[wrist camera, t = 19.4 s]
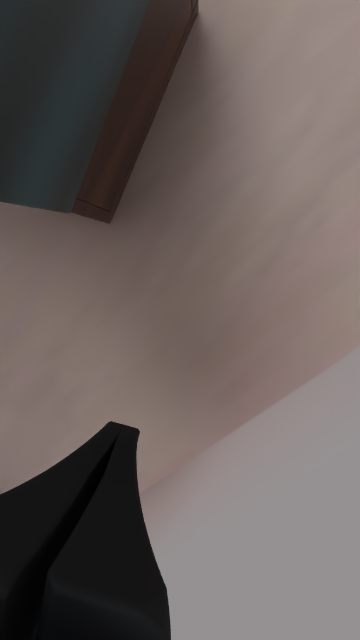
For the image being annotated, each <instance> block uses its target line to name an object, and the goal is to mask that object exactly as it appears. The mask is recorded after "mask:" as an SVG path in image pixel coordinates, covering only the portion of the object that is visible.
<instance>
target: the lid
mask: <svg viewBox="0 0 360 640" xmlns="http://www.w3.org/2000/svg"><path fill="white" fill-rule="evenodd" d="M149 2H150V0H0V202H5V203H10V204H16V205H22V206H28V207H34V208H40V209H46V210H52V211H58V212H64V213H71V210H72V207H73V205H74V202H75V199H76V197H77V194H78V191H79V189H80V186H81V183H82V181H83V178H84V175H85V173H86V170H87V167H88V165H89V162H90V159H91V157H92V154H93V151H94V149H95V146H96V143H97V141H98V138H99V135H100V133H101V130H102V127H103V125H104V122H105V119H106V117H107V114H108V111H109V109H110V106H111V103H112V101H113V98H114V95H115V92H116V90H117V87H118V84H119V82H120V79H121V76H122V74H123V71H124V68H125V66H126V63H127V60H128V58H129V55H130V52H131V50H132V47H133V44H134V42H135V39H136V36H137V34H138V31H139V28H140V26H141V23H142V20H143V18H144V15H145V12H146V10H147V7H148V4H149Z"/></svg>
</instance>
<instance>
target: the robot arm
mask: <svg viewBox="0 0 360 640" xmlns="http://www.w3.org/2000/svg"><path fill="white" fill-rule="evenodd" d="M139 433H140V431H139V430H138V429H137V428H134V427H130V426H126V425H123V424H119V423H116V422H112V421H111V422H109V423H107V424H106V425H105V426H104V427H103V428H102V429H101V430H100V431H99V432H98V433H97V434H95V435H94V436H93V437H92V438H91V439H89V440H88V441H87V442H86V443H84V444H83V445H82V446H81V447H79V448H78V449H77V450H76V451H74V452H73V453H71V454H70V455H69V456H67V457H66V458H64V459H63V460H62V461H60V462H59V463H57V464H56V465H54V466H52V467H51V468H49V469H48V470H46V471H44V472H43V473H41V474H39V475H38V476H36V477H34V478H32V479H30V480H29V481H27V482H25V483H23V484H21V485H19V486H17V487H15V488H13V489H11V490H9V491H7V492H5V493H3V494H0V640H171V630H170V616H169V605H168V596H167V589H166V586H165V583H164V581H163V578H162V576H161V573H160V571H159V568H158V565H157V562H156V560H155V556H154V553H153V550H152V547H151V544H150V540H149V537H148V533H147V529H146V526H145V522H144V518H143V513H142V508H141V503H140V497H139V490H138V481H137V465H136V451H137V441H138V437H139Z"/></svg>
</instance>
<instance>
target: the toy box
mask: <svg viewBox="0 0 360 640" xmlns="http://www.w3.org/2000/svg"><path fill="white" fill-rule="evenodd" d="M197 13H198V0H150V2H149V4H148V7H147V10H146V12H145V15H144V18H143V20H142V23H141V26H140V28H139V31H138V34H137V36H136V39H135V42H134V44H133V47H132V50H131V52H130V55H129V58H128V60H127V63H126V66H125V68H124V71H123V74H122V76H121V79H120V82H119V84H118V87H117V90H116V92H115V95H114V98H113V101H112V103H111V106H110V109H109V111H108V114H107V117H106V119H105V122H104V125H103V127H102V130H101V133H100V135H99V138H98V141H97V143H96V146H95V149H94V151H93V154H92V157H91V159H90V162H89V165H88V167H87V170H86V173H85V175H84V178H83V181H82V183H81V186H80V189H79V191H78V194H77V197H76V199H75V202H74V205H73V207H72V210H71V212H72V213H75V214H78V215H82V216H85V217H88V218H92V219H95V220H98V221H102V222H105V223H110V222H111V220H112V217H113V215H114V212H115V210H116V207H117V205H118V203H119V200H120V198H121V195H122V193H123V191H124V188H125V186H126V183H127V181H128V179H129V176H130V174H131V171H132V169H133V167H134V164H135V162H136V159H137V157H138V155H139V152H140V150H141V147H142V145H143V143H144V140H145V138H146V135H147V133H148V131H149V128H150V126H151V123H152V121H153V118H154V116H155V114H156V111H157V109H158V106H159V104H160V102H161V99H162V97H163V94H164V92H165V90H166V87H167V85H168V82H169V80H170V78H171V75H172V73H173V70H174V68H175V66H176V63H177V61H178V58H179V56H180V54H181V51H182V49H183V46H184V44H185V42H186V39H187V37H188V34H189V32H190V29H191V27H192V25H193V22H194V20H195V17H196V15H197Z"/></svg>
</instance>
